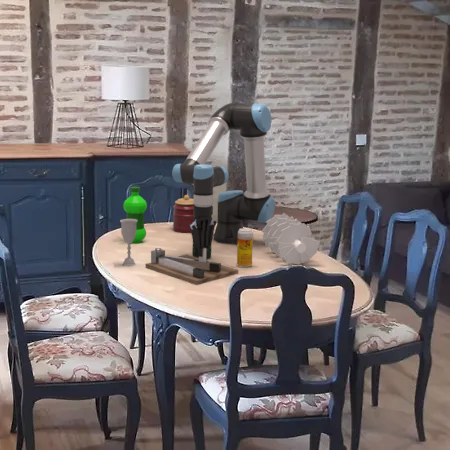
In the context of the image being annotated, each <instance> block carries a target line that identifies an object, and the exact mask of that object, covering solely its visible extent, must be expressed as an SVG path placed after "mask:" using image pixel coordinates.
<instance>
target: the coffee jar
mask: <svg viewBox="0 0 450 450" xmlns="http://www.w3.org/2000/svg"><path fill="white" fill-rule="evenodd" d="M194 218H195V216H193V223H194ZM209 246H210V247H209V248H207V255H206V260H208V259H210V258H211V257H212V244H211V245H209ZM191 250H192V255H191V256H194V257H197V258H199V256H198V248H196V247H194V244H193V243H192V249H191Z"/></svg>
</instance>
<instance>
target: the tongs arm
mask: <svg viewBox="0 0 450 450" xmlns="http://www.w3.org/2000/svg"><path fill="white" fill-rule="evenodd" d="M165 258H167V259H170V260H173V261H176V262H180V263H183V264H186V265H189V266H192V267H196V268H199V269H202V270H209V271H215V272H220V271H221V265H222V263H221V262H215V261H210V260H207V261H203V260H196V259H190V258H183V257H178V255H177V256H176V255H170V254H165ZM209 261H210V262H209Z"/></svg>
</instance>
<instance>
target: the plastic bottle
mask: <svg viewBox="0 0 450 450" xmlns="http://www.w3.org/2000/svg"><path fill="white" fill-rule="evenodd" d="M129 188H130V190H129V192H131V195H129V197H127V198H126V199H125V200H124V201H123V205H122V206H123V207H122V208H123V211H125V213H126V215H125V216H126V218H125V219H136V220H138V221H137V223H136V235H135V238H134V240H133V242H132V243H133V244H138V243H141V242H142V241H143V240H144V239H145V238H146V235H147V231H146V228H145V212H146V211H147V207H148V203H147V201H146V200H145V199H144V198H143V197H142V196H140V192H141V187H140V186H130V187H129ZM132 243H131V244H132Z"/></svg>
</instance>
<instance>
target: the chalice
mask: <svg viewBox="0 0 450 450" xmlns="http://www.w3.org/2000/svg"><path fill="white" fill-rule="evenodd" d="M119 221H120V225H121V226H120V227H121V228H120V229H121V230H120V231H121V236H122V238H123V240H124V242H125V244H127V247H126V249H127V252H126V253H127V257H125V258H124V261H123V263H122V265H123V266H125V267H126V266H127V267H132V266H133V267H134V266H135V265H136V262H135V259H134V258H132V256H131V255H132V251H131V249H132V247H131V244H132V242H133V240H134V238H135V235H136V223H137V221H138V220H136V219H126V218H124V219H120V220H119Z"/></svg>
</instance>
